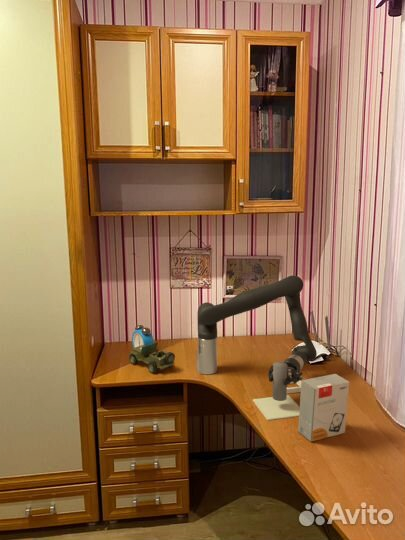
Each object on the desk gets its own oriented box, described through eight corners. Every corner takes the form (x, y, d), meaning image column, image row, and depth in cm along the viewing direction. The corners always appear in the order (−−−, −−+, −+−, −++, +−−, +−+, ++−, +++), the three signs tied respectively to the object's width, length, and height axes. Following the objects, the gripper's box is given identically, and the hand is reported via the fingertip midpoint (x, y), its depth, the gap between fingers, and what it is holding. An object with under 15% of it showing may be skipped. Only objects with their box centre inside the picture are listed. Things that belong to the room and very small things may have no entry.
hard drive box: (310, 443, 144) (313, 389, 141) (297, 431, 151) (299, 380, 147) (346, 433, 150) (349, 381, 147) (331, 422, 157) (334, 372, 154)
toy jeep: (146, 356, 221) (145, 336, 219) (178, 369, 204) (178, 348, 202) (127, 362, 213) (126, 342, 211) (159, 377, 196) (158, 355, 194)
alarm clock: (132, 350, 228) (131, 324, 225) (141, 348, 232) (141, 322, 229) (144, 358, 218) (144, 330, 215) (154, 355, 222) (154, 328, 219)
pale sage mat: (267, 420, 158) (267, 419, 158) (252, 400, 174) (252, 399, 174) (306, 415, 162) (306, 414, 162) (288, 396, 177) (288, 395, 177)
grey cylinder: (275, 401, 164) (276, 368, 161) (270, 395, 169) (271, 362, 167) (288, 399, 165) (289, 366, 163) (282, 393, 171) (283, 361, 168)
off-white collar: (286, 393, 180) (286, 389, 179) (277, 383, 189) (277, 379, 188) (306, 391, 182) (307, 386, 181) (297, 381, 191) (297, 377, 191)
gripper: (276, 354, 181) (260, 368, 167) (309, 361, 173) (295, 376, 159) (276, 370, 182) (260, 386, 168) (308, 378, 175) (295, 394, 161)
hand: (277, 381), depth 164 cm, fingers closed on grey cylinder, 5 cm apart
